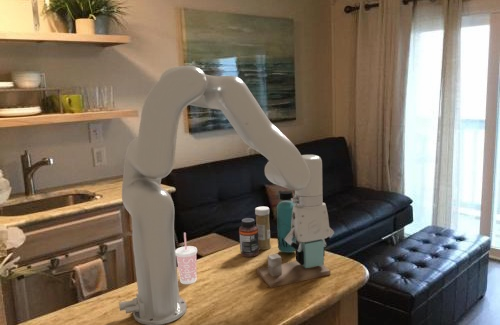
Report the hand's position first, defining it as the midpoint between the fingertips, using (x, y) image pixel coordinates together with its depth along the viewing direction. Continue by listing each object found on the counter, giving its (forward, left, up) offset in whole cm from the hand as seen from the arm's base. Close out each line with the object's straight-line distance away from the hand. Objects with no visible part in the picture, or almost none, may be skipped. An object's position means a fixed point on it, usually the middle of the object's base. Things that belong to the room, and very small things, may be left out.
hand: (310, 260), depth 126 cm
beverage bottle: (0, +14, -3) cm, 14 cm away
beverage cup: (-33, +9, -3) cm, 35 cm away
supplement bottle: (-11, +19, -3) cm, 22 cm away
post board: (-5, 0, -3) cm, 6 cm away
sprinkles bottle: (-5, +22, -3) cm, 23 cm away
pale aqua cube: (0, 0, -1) cm, 1 cm away
